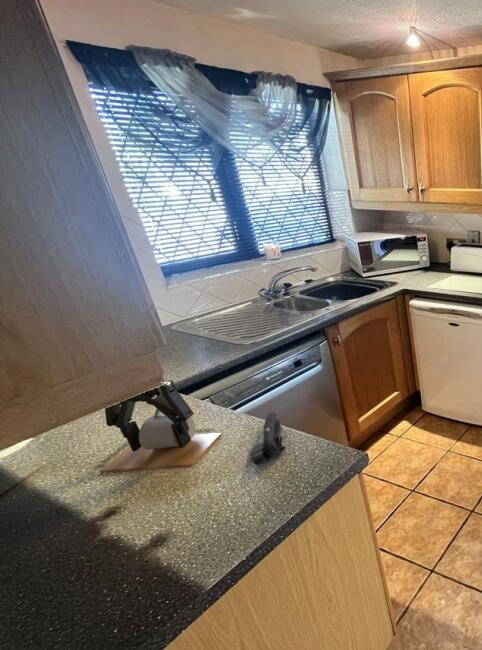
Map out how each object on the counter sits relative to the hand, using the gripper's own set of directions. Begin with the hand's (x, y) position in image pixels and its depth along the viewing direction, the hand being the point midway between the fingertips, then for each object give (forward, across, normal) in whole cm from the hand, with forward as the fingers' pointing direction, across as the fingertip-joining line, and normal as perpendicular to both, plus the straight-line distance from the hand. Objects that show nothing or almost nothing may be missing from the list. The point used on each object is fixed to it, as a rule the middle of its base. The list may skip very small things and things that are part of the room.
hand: (162, 445), depth 92 cm
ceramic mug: (-4, 0, -6) cm, 7 cm away
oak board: (+2, 0, 0) cm, 2 cm away
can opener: (+2, -25, -1) cm, 25 cm away
